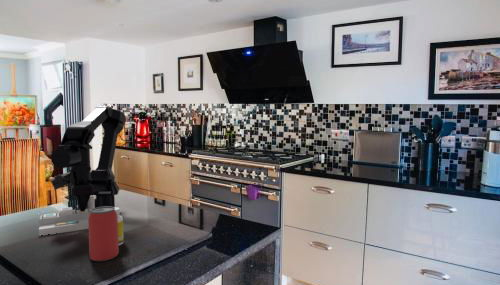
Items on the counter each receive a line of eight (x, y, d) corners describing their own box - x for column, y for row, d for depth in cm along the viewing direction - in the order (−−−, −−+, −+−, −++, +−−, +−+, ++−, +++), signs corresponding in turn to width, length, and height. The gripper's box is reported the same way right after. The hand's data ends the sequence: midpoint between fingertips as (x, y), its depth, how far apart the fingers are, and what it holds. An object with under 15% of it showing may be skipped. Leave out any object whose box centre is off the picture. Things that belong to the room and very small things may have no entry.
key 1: (56, 219, 106) (56, 213, 106) (56, 222, 104) (55, 215, 103) (43, 220, 105) (43, 214, 105) (43, 223, 102) (43, 217, 102)
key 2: (88, 215, 111) (87, 209, 111) (88, 217, 108) (88, 211, 108) (76, 216, 109) (76, 210, 109) (77, 219, 106) (76, 213, 106)
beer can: (95, 252, 85) (94, 206, 84) (122, 251, 85) (120, 205, 85) (85, 263, 78) (83, 213, 77) (113, 261, 79) (112, 212, 78)
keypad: (90, 216, 116) (89, 206, 116) (93, 228, 104) (92, 215, 104) (41, 223, 109) (41, 211, 109) (39, 236, 97) (38, 223, 97)
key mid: (72, 212, 109) (72, 206, 109) (72, 215, 106) (72, 209, 106) (60, 214, 107) (60, 208, 107) (60, 217, 104) (60, 210, 104)
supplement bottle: (128, 241, 92) (126, 207, 91) (114, 249, 87) (112, 212, 86) (112, 239, 94) (111, 205, 93) (97, 246, 88) (96, 210, 88)
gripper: (52, 162, 112) (54, 208, 113) (50, 169, 96) (53, 222, 97) (89, 160, 117) (90, 203, 118) (93, 166, 101) (95, 216, 102)
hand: (82, 211), depth 109 cm, fingers closed, pressing on key 2
